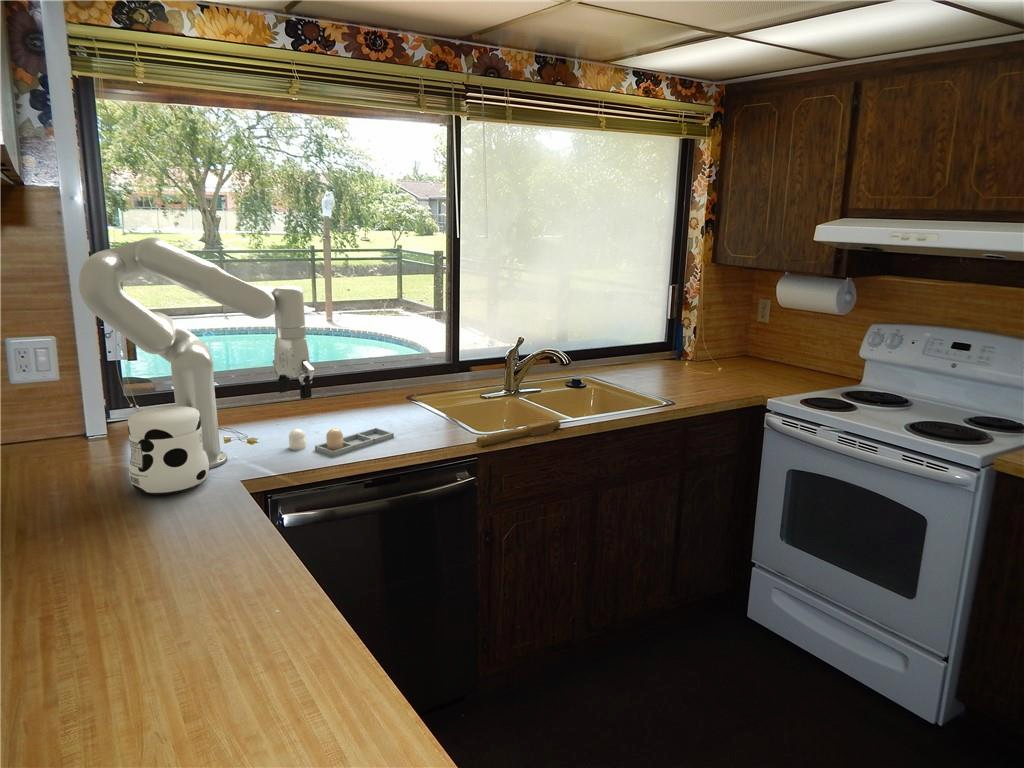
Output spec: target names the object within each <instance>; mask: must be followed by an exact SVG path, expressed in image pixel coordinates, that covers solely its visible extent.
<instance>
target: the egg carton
mask: <svg viewBox="0 0 1024 768" xmlns="http://www.w3.org/2000/svg"><path fill="white" fill-rule="evenodd" d="M394 435H395V434H394V432H393V431H388V430H385V429H381V428H379V427H373V428H369V429H367V430H363V431H360V432H356V433H354V434H350V435H346V436H343V448H341V449H338V450H335V451H331V450H329V449H327V441H326V442H324V443H321V444H317V445H314V449H313V450H312V452H313V453H316V454H319V455H321V456H323V457H327V458H330V459H335V458H338V457H341V456H345V455H347V454H350V453H354V452H358V451H361V450H363V449H366V448H370V447H373V446H376V445H379V444H382V443H385V442H387V441H391V440H395V439H397V438H398V437H397V436H394Z"/></svg>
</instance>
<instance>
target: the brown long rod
mask: <svg viewBox="0 0 1024 768" xmlns="http://www.w3.org/2000/svg"><path fill="white" fill-rule="evenodd" d="M560 428H561V422H560V421H559V420H557V419H555V420H553V421H551V420H542V421H537V422H532V423H527V424H525V426H523V427H522V428H519V429H513V430H509V431H508V430H507V431H502V432H497V433H491V434H488V435H486V436H484V435H482V436H478V437H477V438H476V441H475V443H476V445H477V446H478V447H480V448H481V447H486V446H488V445H490V446H491V445H494V444H498V443H502V442H506V441H509V440H514V439H517V438H520V437H527V436H529V437H534V436H539V435H542V434H548V433H552V432H554V430H558V429H560Z"/></svg>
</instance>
